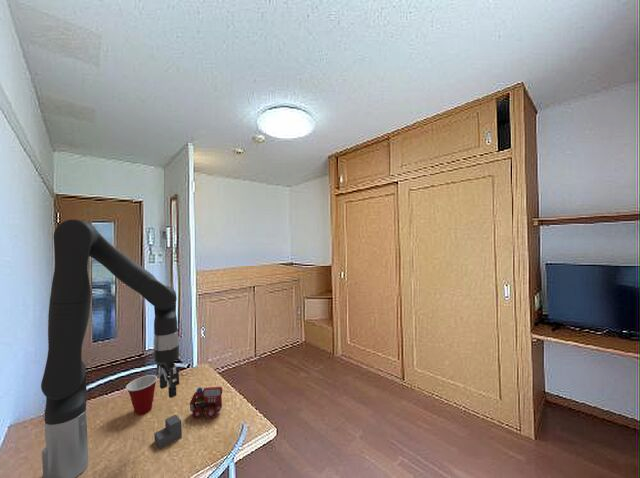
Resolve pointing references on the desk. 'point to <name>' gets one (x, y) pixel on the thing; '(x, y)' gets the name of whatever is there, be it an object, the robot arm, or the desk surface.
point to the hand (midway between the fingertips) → (168, 392)
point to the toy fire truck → (206, 402)
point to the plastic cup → (142, 393)
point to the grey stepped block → (169, 432)
